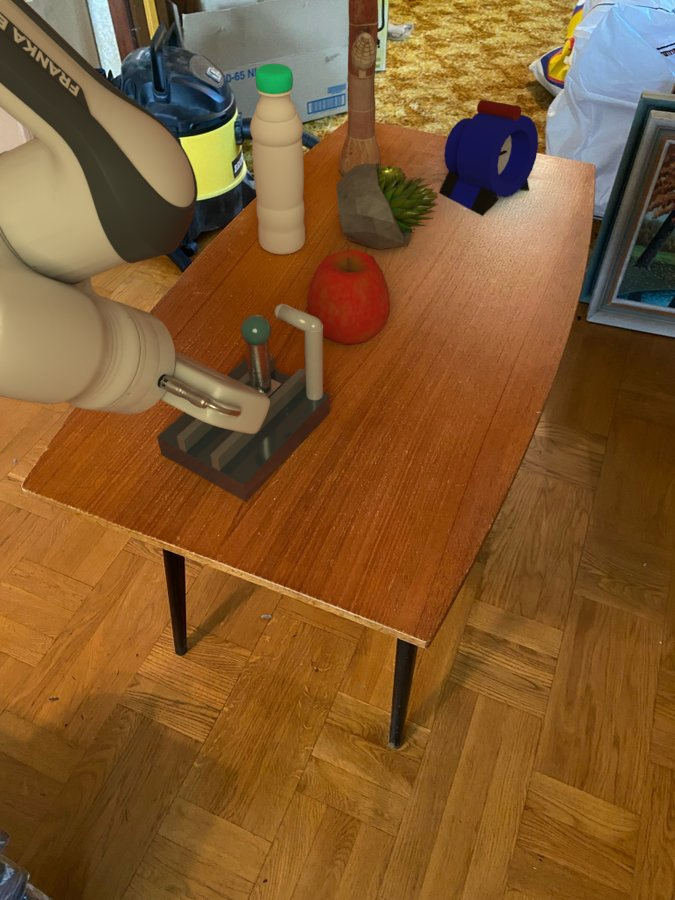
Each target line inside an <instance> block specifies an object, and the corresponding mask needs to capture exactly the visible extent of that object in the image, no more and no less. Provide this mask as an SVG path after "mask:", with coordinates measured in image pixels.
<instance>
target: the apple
mask: <svg viewBox="0 0 675 900" xmlns="http://www.w3.org/2000/svg"><path fill="white" fill-rule="evenodd" d="M307 290H308V291H307V299H306V308H307V312H308V313H307V314H310V315H312V316H314V317H317V318H319V319H320V321H321V322H322V324H323V337H324V338H326V339H328V340H330V341H332V342H335V343H336V344H337V343H338V344H342V345H343V344H344V345H349V346H353V345H357V344H362V343H365V342H368V341H369V340H371V339H372V338H374V337H375V336H377V334H379V332H380V331H381V330H382V329H383V328H384V327H385V326H386V324H387V322H388V319H389V316H390V313H391V298H390V291H389V285H388V283H387V280H386V277H385V275H384V272H383V270H382V268H381V267H380V265H379V264H378V262H377V260H376V259H375V257H374V256H372V255H370V254H369V253H367V252H364V251H361V250H360V249H359V250H358V249H345V250H340V251H337V252H334V253H331V254H328V255H326V257H324V259H323V260H322V261H321V262H320V263H319V264H318V266H317V267H316V268H315V272H314V274H313V276H312V277H311V280H310V282H309V285H308V289H307Z"/></svg>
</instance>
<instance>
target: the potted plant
mask: <svg viewBox="0 0 675 900" xmlns="http://www.w3.org/2000/svg"><path fill="white" fill-rule="evenodd" d="M407 177H408V175H406V173H405V172H404V171H403V169H402V168H401V167H400V166H399V167H397V166H394V165H392V164H389V165H387V166H385V165H381V166H379V163H377V164H368V163H364V164H361V165H357V166H355V167H354V168H352V169H351V170H350V171H349V172H347V173H346V174H345V175H344V176H343V177H342V176H341V179H339V181H338V182H337V183H336V198H337V213H338V218H339V222H340V226H341V230H342V233H343V235H344V237H345V238H346V240H348V241H351V242H353V243H357V244H360V245H363V246H365V247H369V248H371V249H379V250H380V249H382V250H383V249H388V248H389V249H390V248H399V247H406V246H409V244H410V240H411V237H412V234H415V231H416V228H414V227H426V226H427V225H425V224H424V222H423V221H426V220H432V219H434V217H430V216H425V215H429V214H431V213H436V212H437V211H435V210H432V208H434V207H437V206H438V205H439V204H438V203H437V202H436V201H435V200H437V199H438V198H439V195H438V193H437V192H436V191H434V190H435V189H436V188H431V187H430V186H431V185H432V183H425V184H421V183H422V182H423V181H425V180H426V178H424V177H421V176H420V177H418V176H417V175H416V176H414V177H413V176H411V177H410V178H408V179H407ZM417 177H418V178H417ZM416 178H417V179H416ZM406 179H407V180H406ZM419 184H421V185H419Z"/></svg>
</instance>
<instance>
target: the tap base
mask: <svg viewBox="0 0 675 900" xmlns="http://www.w3.org/2000/svg"><path fill="white" fill-rule="evenodd" d="M273 314H274V317H275V318H276V319H277V320H278V321H280V322H282V323H285V324H287V325H290V326H292V327H294V328H296V329H298V330H300V331H303V335H304V336H303V337H304V342H303V343H304V369H303V368H300V367H299V369H297V371H296V372H294V373H293V374H292V375H291V376H290V375H289V374H286V373H284V372H282V371H281V370H278V369H276V359H275V358H276V357H275V356H274V355H272V354H270V353H269V356H270V369H271V379H273V380H275V381H277V382H279V383H281V384H282V386H281V387H280V388H279V389H278V390H277V391H276V392H275V393H274V394H273V395H272V396H271V397H270V398H269V400H270V406H269V409H268V412H267V415H266V417H265V419H264V422H263V424H262V426H261V428H260V429H259V431H258V432H257V433H255V434H248V433H243V432H238V431H233V430H228V429H224V428H220V427H217V426H214V425H211V424H208V423H206V422H203V421H201V420H199V419H197V418H194V417H193V416H191V415H189V414H187V413H185V412H183V413H182V414H181V415H180V416H178V417H177V418H176V419H175V420H174V421H173V422H172V423H170V424H169V426H167V427H166V428H165V429H164V430H163V431H161V432H160V433H159V434H158V435H157V436H156V439H157V443H158V447H159V450H160V454H161V456H163V457H165V458H167V459H169V460H170V461H172V462H174V463H176V464H177V465H179V466H181V467H183V468H185V469H186V470H188V471H190V472H191V473H193V474H195V475H197V476H199V477H201V478H202V479H204V480H206V481H208V482H210V483H211V484H213V485H215V486H217V487H218V488H221V489H222V490H224V491H226V492H227V493H229V494H231V495H233V496H235V497H236V498H238V499H239V500H241V501H243V502H245V503H247V502H248V501H250V499H251V498H252V497H253V496H254V495H255V494H256V493H257V492H258V490H259V489H260V488H261V487H262V486H264V484H265V483H266V482H267V481H268V480H269V479H270V478H271V477H272V476H273V474H274V473H275V472H277V470H278V469H279V468H280V467H281V466H282V465H283V464H284V463H285V461H287V460H288V458H289V457H290V456H291V455H292V454H293V453H294V452H295V451H296V450H297V449H298V448H299V447H300V446H301V445H302V443H303V442H305V440H306V439H307V438H309V436H310V435H311V434H312V433H313V432H314V431H315V429H316V428H318V427H319V425H320V424H321V423H322V422H323V421H324V420H325V419H326V418H327V417H328V416H329V415H330V413H331V394H329V393H327V392H325V391H324V335H323V324H322V322H321V321H320V319H319V318H317V317H314V316H312V315H310V314H309V313H307V312H305V311H303V310H300V309H298V308H296V307H293V306H291V305H289V304H286V303H280V304H277V305H276V307H275V308H274V311H273ZM226 375H227V376H229V377H231V378H233V379H235V380H237V381H239V382H241V383H243V384H245V385H247V386H250V380H249V370H248V361H247V357H245V358H244V359H243V360H242V361H241V362H240V363H239V364H238V365H237V366H235V367H234V368H233V369H232V370H231V371H229V372H228V373H227V374H226Z"/></svg>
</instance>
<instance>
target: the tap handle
mask: <svg viewBox="0 0 675 900" xmlns="http://www.w3.org/2000/svg"><path fill="white" fill-rule="evenodd" d="M239 331H240V336H241V338H242V340H243V341H244V342H245V349H246V351H245V352H246V358H247V361H248V370H249V380H250V386H249V387H251V388H253V389H255V390H257V391H259V392H261V393H263V394H265V395H266V396H267V397H268V398H270V397H271V396H272V395H273V394H274V393H275V392H276V391H277V390H278V389H279V388H280V387H281V386H282V384H281V383H279V382H277V381H275V380H273V379H271V369H270V356H269V354H270V345H269V340H270V339H271V335H272V326H271V323H270V322H269V320H268V319H267V318H266V317H264V316H262V315H260V314H251V315H249V316H247V317H245V318H244V320H243V321H242V322H241V325H240V329H239Z"/></svg>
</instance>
